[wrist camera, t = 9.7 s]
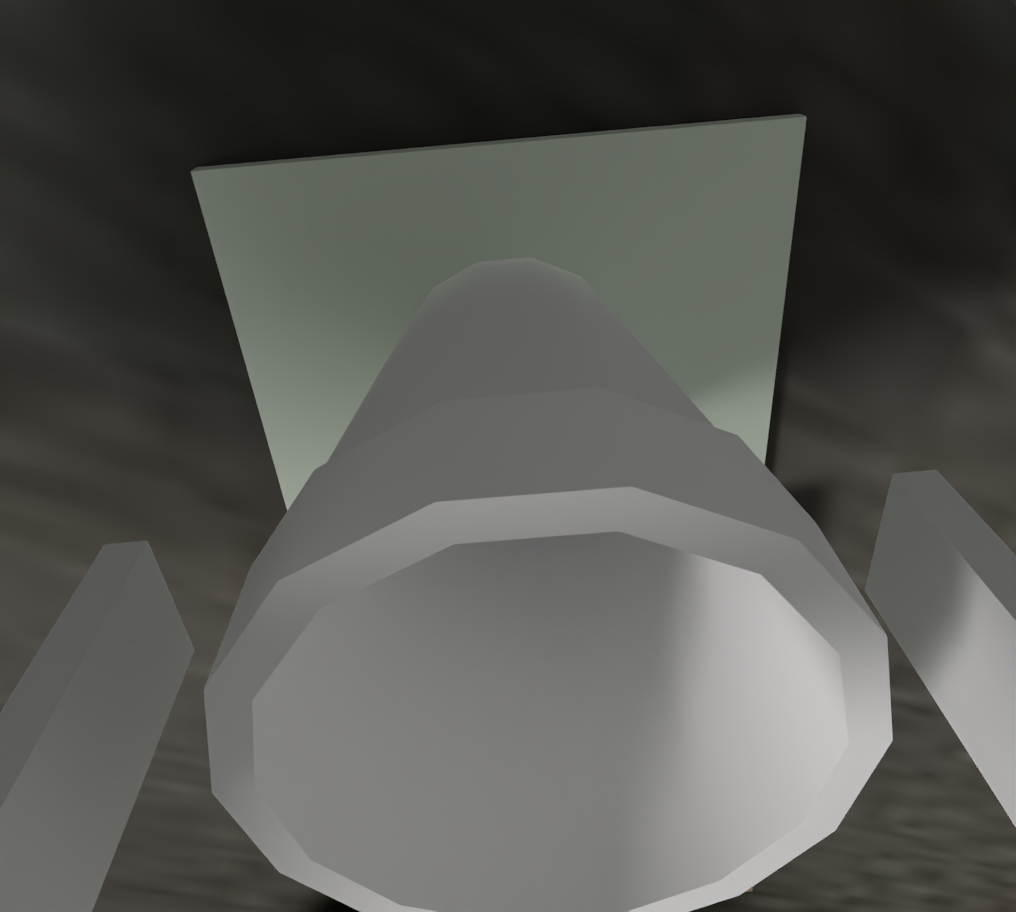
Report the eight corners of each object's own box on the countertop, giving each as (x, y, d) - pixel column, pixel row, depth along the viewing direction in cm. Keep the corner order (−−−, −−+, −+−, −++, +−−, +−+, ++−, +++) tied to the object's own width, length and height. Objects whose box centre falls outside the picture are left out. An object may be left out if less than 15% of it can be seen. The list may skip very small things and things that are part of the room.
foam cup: (307, 447, 23) (150, 884, 12) (401, 138, 18) (288, 375, 7) (594, 534, 25) (689, 973, 14) (740, 276, 20) (1050, 619, 9)
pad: (196, 167, 19) (190, 171, 19) (799, 113, 19) (806, 116, 18) (302, 544, 25) (299, 554, 25) (753, 506, 25) (758, 515, 25)
